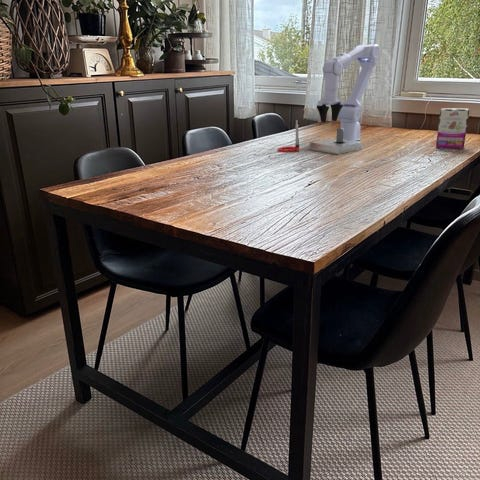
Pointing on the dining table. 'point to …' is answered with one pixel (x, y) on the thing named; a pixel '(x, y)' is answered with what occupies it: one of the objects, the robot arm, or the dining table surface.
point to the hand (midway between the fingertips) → (328, 121)
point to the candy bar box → (452, 128)
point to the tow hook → (295, 144)
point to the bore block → (335, 146)
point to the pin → (340, 135)
